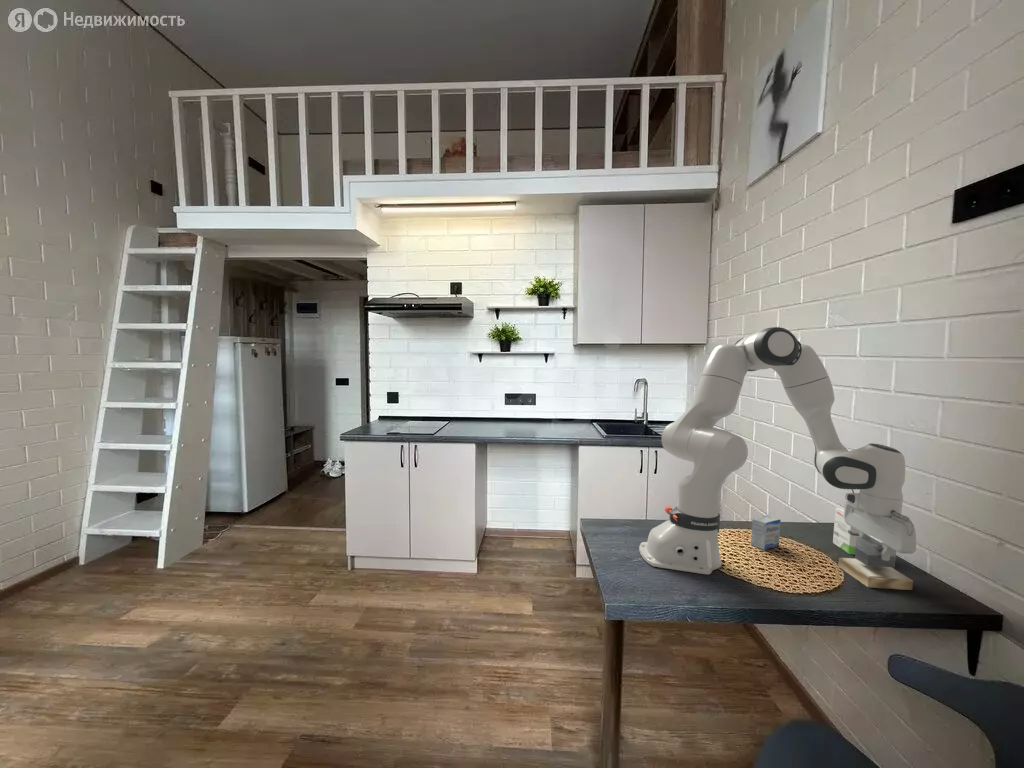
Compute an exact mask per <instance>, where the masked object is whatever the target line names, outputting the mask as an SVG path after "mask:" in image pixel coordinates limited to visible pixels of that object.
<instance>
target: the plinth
mask: <svg viewBox="0 0 1024 768" xmlns="http://www.w3.org/2000/svg"><path fill="white" fill-rule="evenodd" d="M837 565H838V566H837V567H838V568H840V569H842V570H843V571H844V572H845V573H847V574H848V575H850V576H851V577H852V578H854V579H855V580H857V581H859V583H861V584H863V585H864V586H866V588H873V589H874V588H875V589H887V590H888V589H892V590H907V591H908V590H909V591H912V590H913V586H914V580H913V579H911V578H909V577H908V576H906V575H905V574H903V573H901V572H900V571H898V570H896V569H895V568H894V567H878V566H867V565H865V564H864V563H862V562H860V561H859V560H857V559H856V558H855V557H854V558H851V557H839V558H838V563H837Z"/></svg>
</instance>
